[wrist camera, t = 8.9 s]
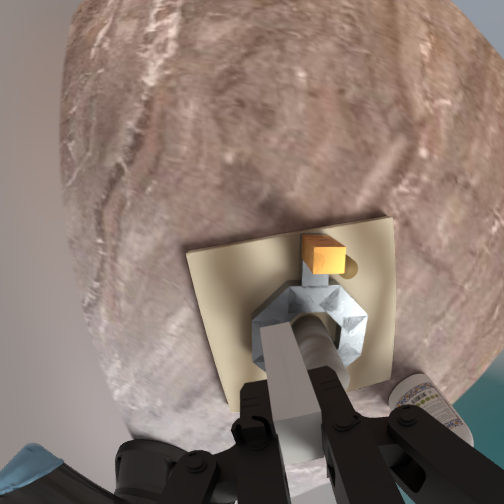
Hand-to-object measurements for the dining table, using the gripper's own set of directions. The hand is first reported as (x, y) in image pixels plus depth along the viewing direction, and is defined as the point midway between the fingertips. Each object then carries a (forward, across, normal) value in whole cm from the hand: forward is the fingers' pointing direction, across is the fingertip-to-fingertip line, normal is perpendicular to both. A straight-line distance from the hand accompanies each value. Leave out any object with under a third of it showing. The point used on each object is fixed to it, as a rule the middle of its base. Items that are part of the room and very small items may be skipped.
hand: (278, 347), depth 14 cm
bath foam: (+14, +17, -22) cm, 31 cm away
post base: (+14, +4, -7) cm, 16 cm away
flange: (+13, +4, -5) cm, 14 cm away
